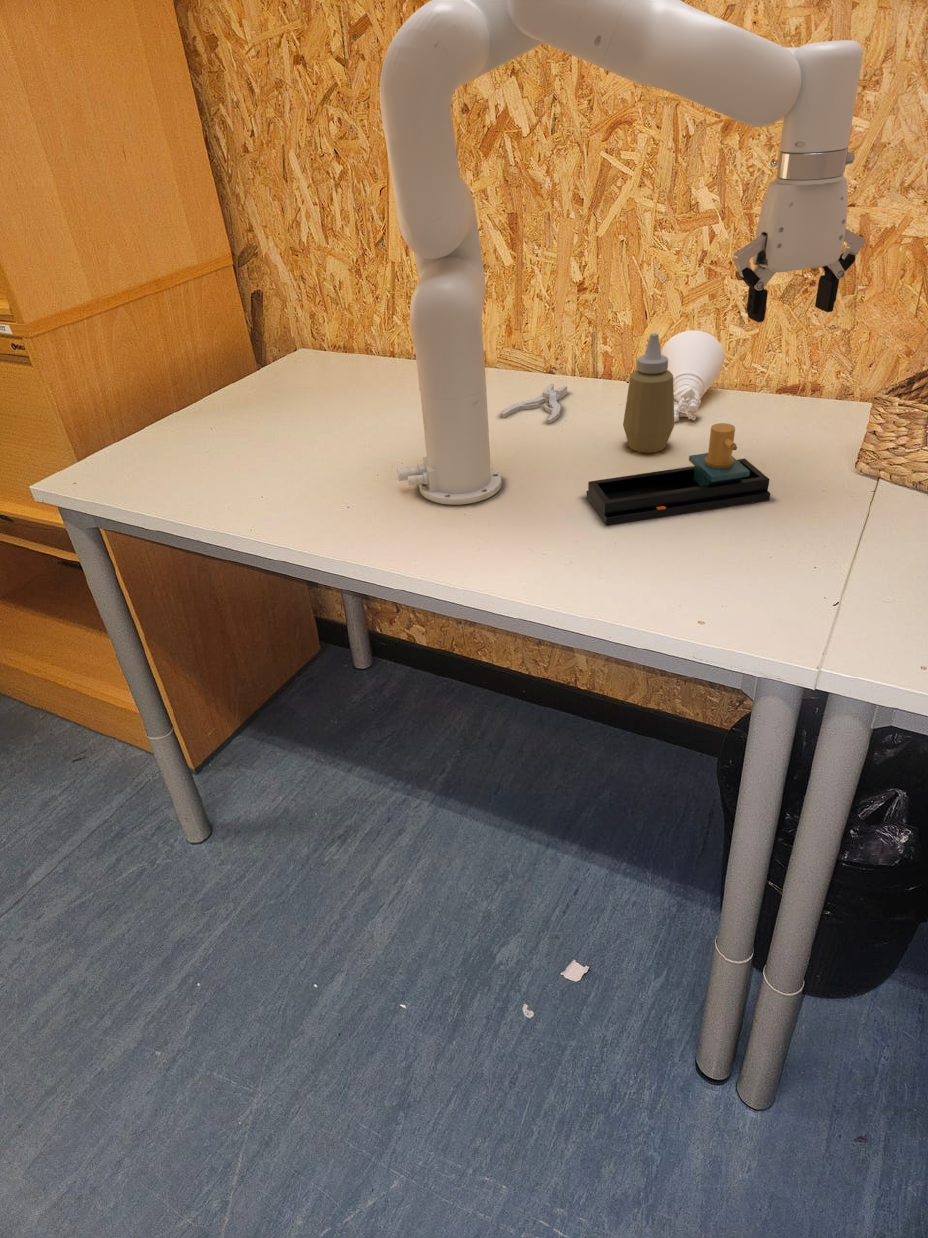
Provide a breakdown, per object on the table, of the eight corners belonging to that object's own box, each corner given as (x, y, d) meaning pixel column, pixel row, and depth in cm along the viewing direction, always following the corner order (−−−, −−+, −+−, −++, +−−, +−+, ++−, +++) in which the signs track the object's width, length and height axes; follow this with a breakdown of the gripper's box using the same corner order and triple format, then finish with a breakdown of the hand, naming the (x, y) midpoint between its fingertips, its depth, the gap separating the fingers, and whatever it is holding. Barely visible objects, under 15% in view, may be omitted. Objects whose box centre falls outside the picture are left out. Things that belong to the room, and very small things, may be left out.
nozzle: (710, 498, 114) (716, 440, 109) (687, 475, 120) (692, 420, 115) (747, 492, 114) (756, 435, 110) (723, 470, 121) (729, 415, 116)
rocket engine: (689, 371, 133) (698, 317, 144) (634, 410, 141) (646, 355, 152) (732, 420, 137) (737, 363, 148) (676, 454, 145) (685, 398, 156)
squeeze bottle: (672, 457, 129) (682, 342, 119) (620, 456, 131) (625, 342, 121) (672, 437, 136) (681, 326, 126) (623, 436, 137) (628, 327, 127)
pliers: (500, 408, 148) (535, 381, 158) (501, 417, 148) (535, 389, 159) (550, 415, 143) (583, 387, 154) (550, 423, 144) (583, 395, 155)
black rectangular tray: (606, 525, 112) (606, 506, 111) (586, 497, 120) (586, 479, 118) (769, 500, 115) (772, 481, 114) (740, 474, 123) (742, 456, 121)
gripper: (857, 156, 102) (833, 299, 111) (728, 172, 100) (715, 316, 109) (896, 161, 96) (867, 312, 105) (759, 178, 93) (742, 331, 103)
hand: (789, 314), depth 107 cm, fingers open, 9 cm apart
